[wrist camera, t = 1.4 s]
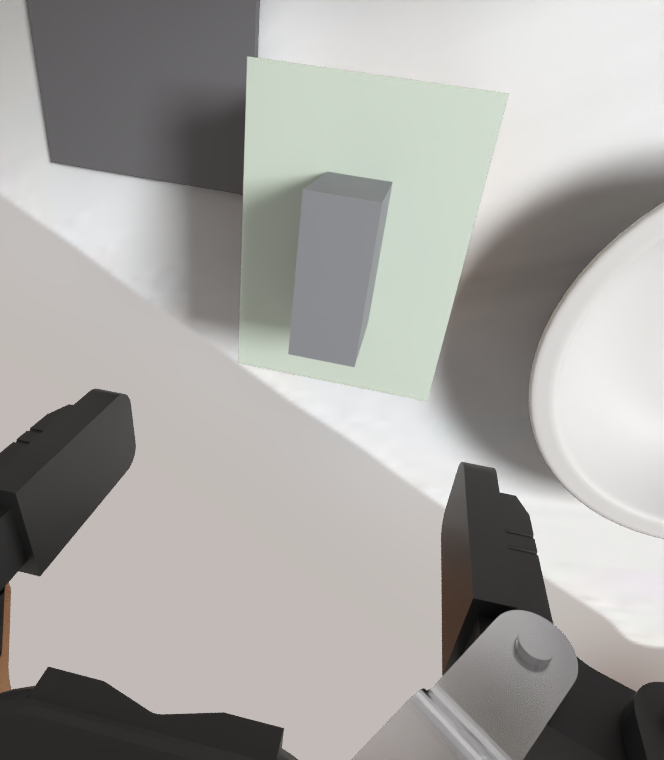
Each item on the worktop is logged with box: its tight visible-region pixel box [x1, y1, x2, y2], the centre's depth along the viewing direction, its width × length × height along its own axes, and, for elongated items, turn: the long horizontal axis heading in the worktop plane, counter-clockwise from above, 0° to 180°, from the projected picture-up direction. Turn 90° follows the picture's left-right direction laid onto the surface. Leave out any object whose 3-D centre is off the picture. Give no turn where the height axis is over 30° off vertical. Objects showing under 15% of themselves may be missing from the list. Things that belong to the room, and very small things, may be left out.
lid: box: [238, 56, 509, 401], centre depth 23 cm, size 15×11×7 cm
